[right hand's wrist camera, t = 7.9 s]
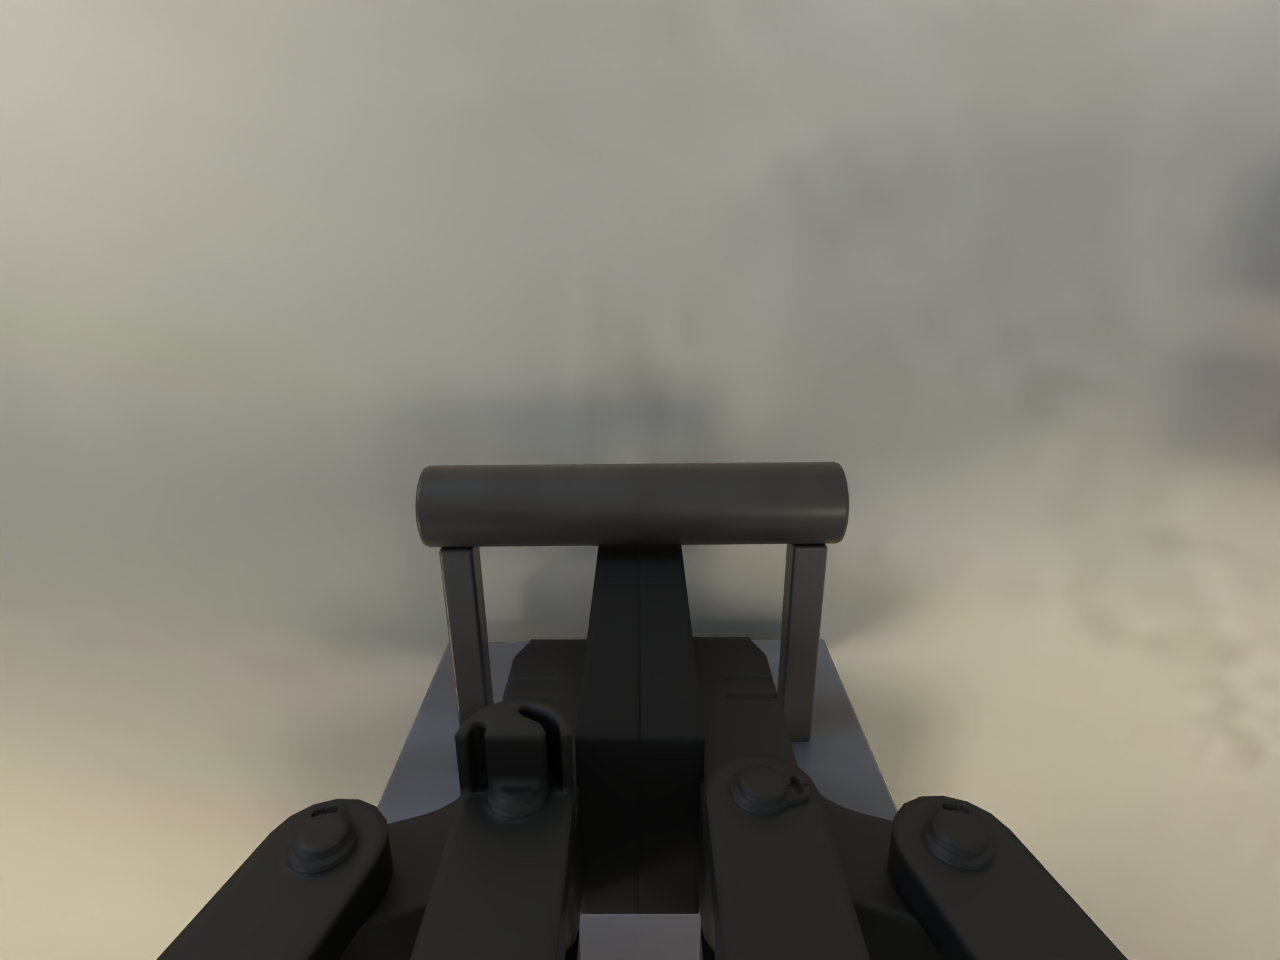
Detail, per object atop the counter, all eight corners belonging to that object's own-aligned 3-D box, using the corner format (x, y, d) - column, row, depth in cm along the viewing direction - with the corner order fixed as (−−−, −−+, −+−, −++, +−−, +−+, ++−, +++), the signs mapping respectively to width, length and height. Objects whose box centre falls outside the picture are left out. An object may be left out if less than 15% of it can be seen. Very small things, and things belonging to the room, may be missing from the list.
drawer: (421, 416, 16) (255, 577, 9) (844, 411, 16) (1004, 570, 9) (497, 1071, 23) (438, 1435, 16) (784, 1068, 23) (846, 1431, 16)
